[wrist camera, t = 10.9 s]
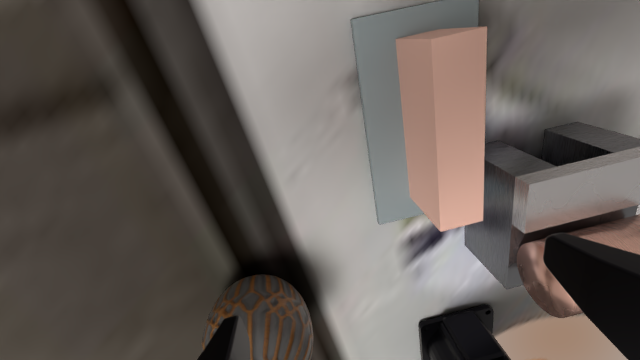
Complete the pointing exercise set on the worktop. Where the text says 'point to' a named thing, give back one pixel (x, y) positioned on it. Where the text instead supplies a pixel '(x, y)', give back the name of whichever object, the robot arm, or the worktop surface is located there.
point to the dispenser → (556, 205)
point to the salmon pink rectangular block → (445, 122)
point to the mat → (395, 93)
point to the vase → (266, 318)
